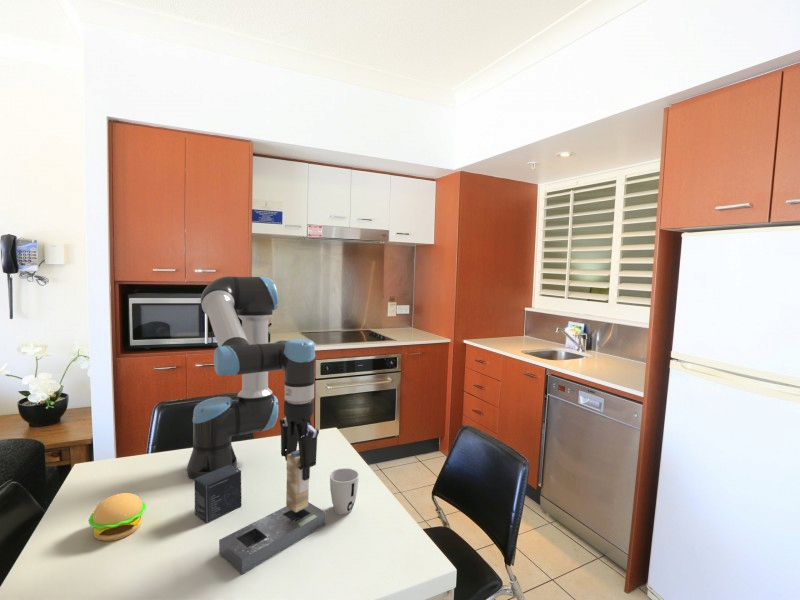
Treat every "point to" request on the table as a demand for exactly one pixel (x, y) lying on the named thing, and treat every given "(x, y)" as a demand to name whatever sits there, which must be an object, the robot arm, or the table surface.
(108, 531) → the toy hamburger
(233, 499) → the box
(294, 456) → the plug
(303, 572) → the table surface
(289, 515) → the panel
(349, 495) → the cup
